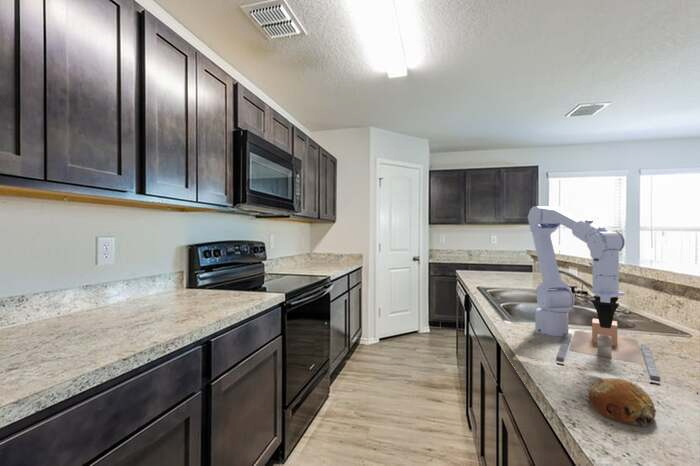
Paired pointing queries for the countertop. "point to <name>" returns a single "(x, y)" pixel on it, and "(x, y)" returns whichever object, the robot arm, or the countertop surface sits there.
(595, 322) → the terracotta block
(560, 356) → the guide rails
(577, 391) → the countertop surface
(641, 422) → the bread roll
